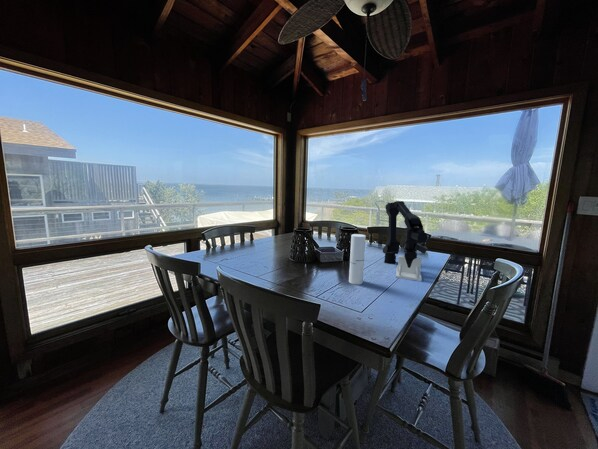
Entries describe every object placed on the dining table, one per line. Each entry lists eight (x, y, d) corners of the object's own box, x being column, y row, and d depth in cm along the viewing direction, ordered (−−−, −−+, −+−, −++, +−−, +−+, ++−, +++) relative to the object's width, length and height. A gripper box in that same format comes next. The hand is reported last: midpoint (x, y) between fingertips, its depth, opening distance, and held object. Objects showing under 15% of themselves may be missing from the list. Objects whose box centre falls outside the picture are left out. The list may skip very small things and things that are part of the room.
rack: (395, 277, 141) (396, 267, 140) (396, 268, 158) (397, 259, 157) (421, 281, 137) (422, 271, 136) (419, 271, 153) (420, 261, 152)
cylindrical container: (362, 285, 129) (366, 237, 126) (348, 283, 131) (351, 236, 127) (362, 280, 136) (365, 234, 132) (348, 278, 138) (351, 233, 134)
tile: (397, 271, 148) (398, 256, 147) (397, 270, 150) (398, 255, 149) (420, 274, 144) (421, 259, 142) (419, 273, 146) (421, 258, 144)
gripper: (428, 243, 132) (425, 272, 135) (425, 237, 150) (423, 262, 152) (405, 241, 136) (403, 269, 139) (405, 235, 154) (403, 260, 156)
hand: (408, 265), depth 146 cm, fingers open, 9 cm apart
